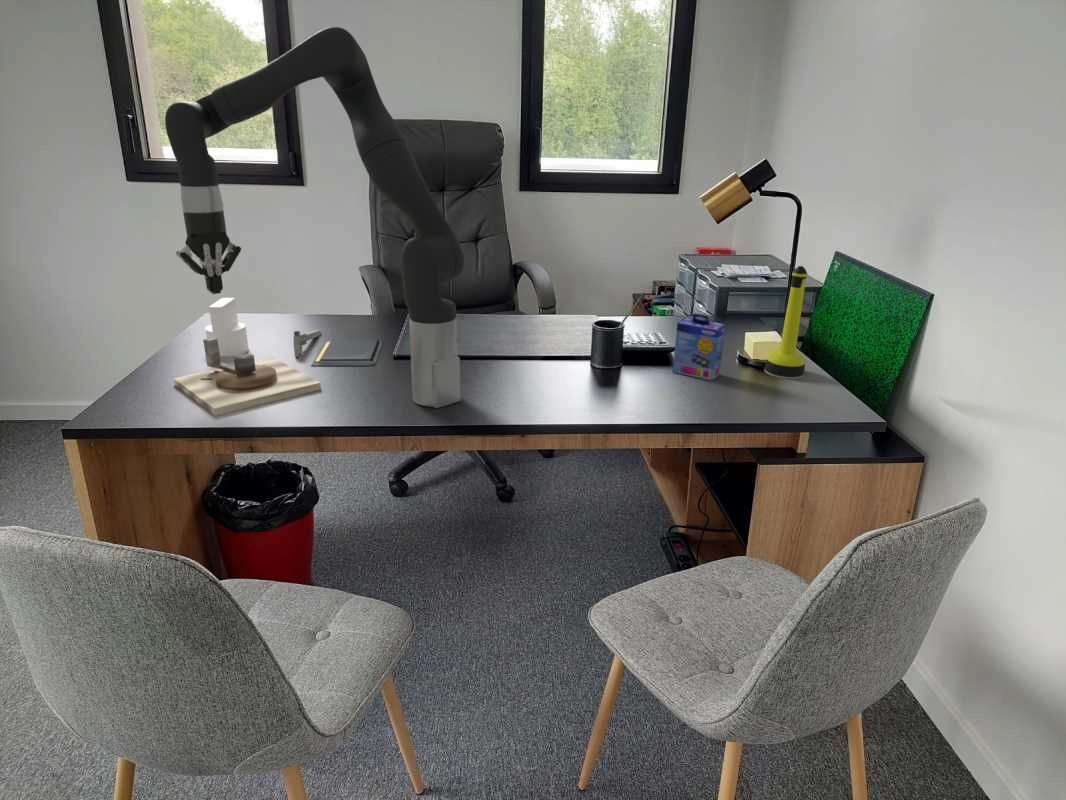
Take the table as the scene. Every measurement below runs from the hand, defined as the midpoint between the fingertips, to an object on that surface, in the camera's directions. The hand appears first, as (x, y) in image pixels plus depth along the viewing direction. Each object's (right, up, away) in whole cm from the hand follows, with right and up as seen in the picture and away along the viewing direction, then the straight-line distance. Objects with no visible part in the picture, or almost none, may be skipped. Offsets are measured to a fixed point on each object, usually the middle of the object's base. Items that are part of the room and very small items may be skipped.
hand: (215, 293), depth 151 cm
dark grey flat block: (+22, -12, +23) cm, 34 cm away
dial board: (+7, -20, 0) cm, 21 cm away
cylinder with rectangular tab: (-7, -11, +23) cm, 26 cm away
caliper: (+11, -9, +29) cm, 32 cm away
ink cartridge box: (+105, -17, +15) cm, 107 cm away
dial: (+5, -18, +1) cm, 18 cm away
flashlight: (+126, -16, +17) cm, 128 cm away
